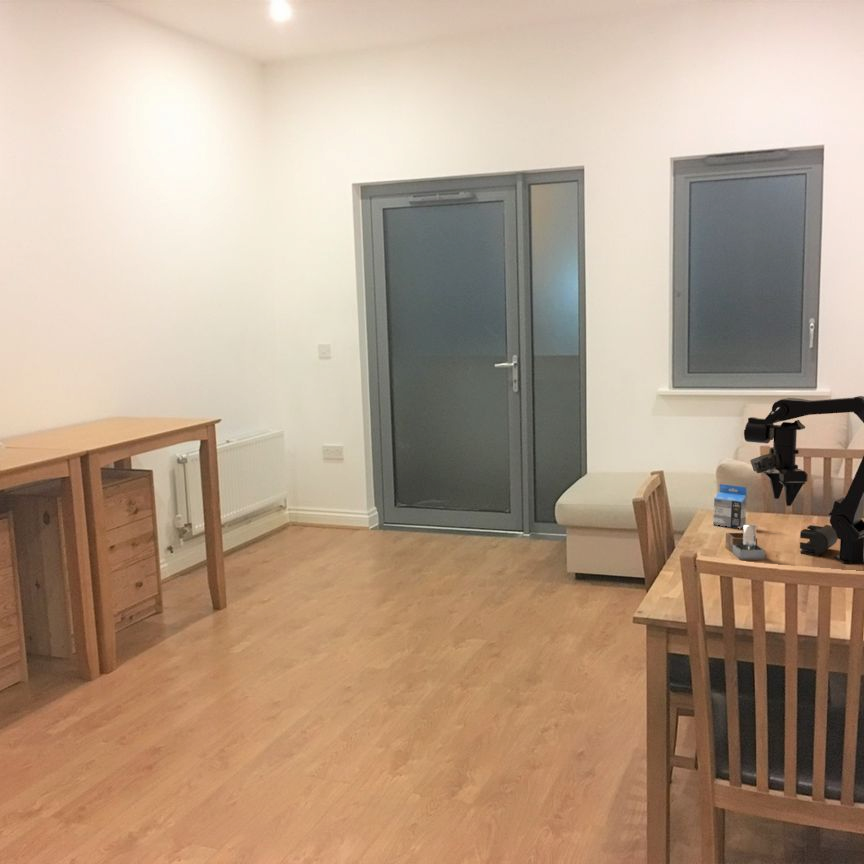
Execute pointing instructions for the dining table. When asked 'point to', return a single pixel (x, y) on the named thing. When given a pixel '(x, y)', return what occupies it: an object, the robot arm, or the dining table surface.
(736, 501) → the label tape box
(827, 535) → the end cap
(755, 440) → the robot arm
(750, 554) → the tray
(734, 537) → the bore block
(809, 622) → the dining table surface
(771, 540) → the dining table surface
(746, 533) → the axle pin
